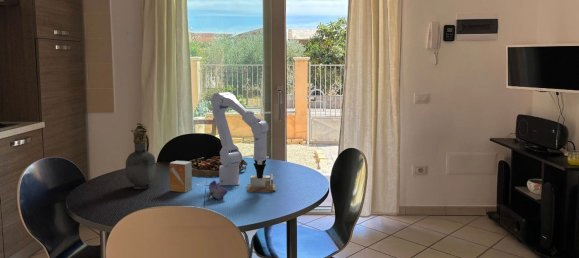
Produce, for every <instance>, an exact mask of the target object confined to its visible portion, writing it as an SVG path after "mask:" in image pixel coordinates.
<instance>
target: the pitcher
mask: <svg viewBox="0 0 579 258" xmlns="http://www.w3.org/2000/svg"><path fill="white" fill-rule="evenodd" d="M136 125H137V126H136V127H135V128H134V129H131V130H130V132H132V135H133V144H134V151H133V152H131V153H130V154H128V156H127V158H126V161H125V176H126V177H125V178H126V180H127V182H129V183H130V184H133V186H132V187H133V189H134V190H144V189H145V190H146V189H148V188H150V186H151V185H150V184H149V183H152V181H153V180H154V178H155V176H156V169H157V168H156V167H157V166H156V165H157V164H156V157H155V156H154V154H152V153H151V152H149V149H150V148H149V147H150V138H149V137H150V136H149V134H148V133H147V132H148V131H149V130H148V128H147V126H145V125H144V124H142V123H141V122H137V123H136Z"/></svg>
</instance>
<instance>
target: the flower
mask: <svg viewBox="0 0 579 258" xmlns="http://www.w3.org/2000/svg"><path fill="white" fill-rule="evenodd" d="M208 190H209V192H208V193H207V195H206V202H209V201H210V198H211V196H212V197H213V198H215V199H216V200H220V201H221V200H224V198H225V196H226V195H227V194H228V189H227V188H226V186H225V187H224V186H223V187H222V186H221V185H220V183H219V182H217V181H216V180H215V179H214V178H213V180H212V182H210V183H209V185H208Z"/></svg>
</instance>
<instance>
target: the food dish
mask: <svg viewBox="0 0 579 258" xmlns="http://www.w3.org/2000/svg"><path fill="white" fill-rule="evenodd" d="M203 159H205V157H203V156H202V157H199V158H196V159H192V160H190V162H193V163H192V177H199V178H200V177H203V178H216V176H217V177H219V167H220V166H221V165H223V164H222V163H221V160H220V156H212V157H211V158H208V159H206V160H205V162H203ZM196 160H197V161H196ZM243 166H244V167H243ZM247 166H248V162H247V161H245V160H244V159H243V158H242V160H241V162H240V164H239V173H241V172H242V170H243V171H244V170H245V169H246V168H247Z"/></svg>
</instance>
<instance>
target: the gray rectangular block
mask: <svg viewBox="0 0 579 258" xmlns="http://www.w3.org/2000/svg"><path fill="white" fill-rule="evenodd" d="M249 180H250V182H249V183H250V188H266V180H270V181H271V175H263V177H262V179H258V178H257V175H250V179H249Z"/></svg>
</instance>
